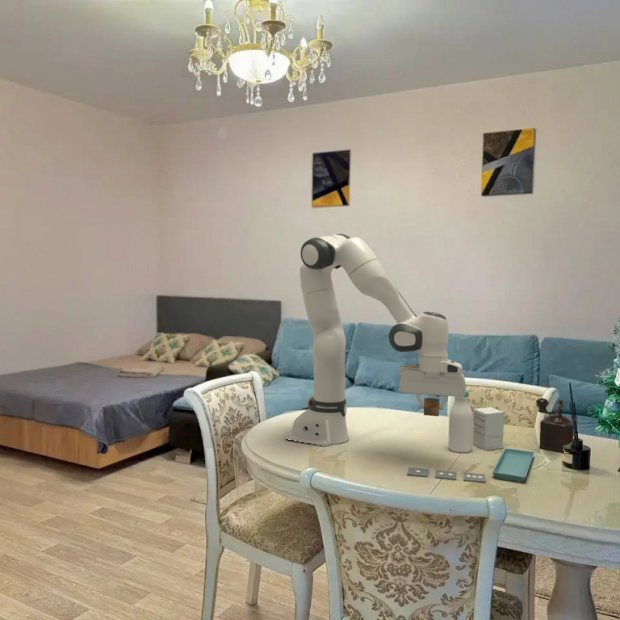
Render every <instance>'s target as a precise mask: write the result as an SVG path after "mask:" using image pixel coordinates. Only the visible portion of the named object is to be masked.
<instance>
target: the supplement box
mask: <svg viewBox="0 0 620 620" xmlns="http://www.w3.org/2000/svg"><path fill="white" fill-rule="evenodd" d="M472 414H473V440H472V446H473V445H474V446H475V447H477V448H479V449H481V450H483V451H490V450H499V449H504V422H505V420H504V419H505V415H504V414H505V412H504V411H503V410H500V409H497V408H494V407H493V406H492V407H490V406H488V407H479V408H473V411H472Z"/></svg>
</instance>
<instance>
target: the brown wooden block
mask: <svg viewBox="0 0 620 620" xmlns="http://www.w3.org/2000/svg"><path fill="white" fill-rule="evenodd" d="M423 402H424V409H423V416H428V417H430V416H432V417H439V416H440V410H439V403H440V402H441V401H440V398H435V397H424V401H423Z"/></svg>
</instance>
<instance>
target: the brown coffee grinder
mask: <svg viewBox="0 0 620 620" xmlns="http://www.w3.org/2000/svg"><path fill="white" fill-rule="evenodd" d="M563 402H564V401H563V399H559V400H558V407H557V408H556V409H555V411H554V410H553V411H548V409H547V407H548V406H549V405H550V404H549V400H548V399H547V398H543V397H541V398H538V399H536V400H535V403H536V406H537V407H538V410H537V411H538V412H539V414H540V413H541V414H547V416H545V417H543V419H542V420H540V422H539V424H540V425H539V447H538V448H539V449H541V450H546V451H550V452H554V453H560V454H565V453H564V451H563V446H564V445H567V444H570V443H571V442H572V440H573V437H574V431H573V423H572V419H573V418H569V417H568V416H565V415H563V413H562V412H563V411H562V410H563V407H564V403H563ZM575 420H576V421H577V432H578V433H579V420H578V419H575Z"/></svg>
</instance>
